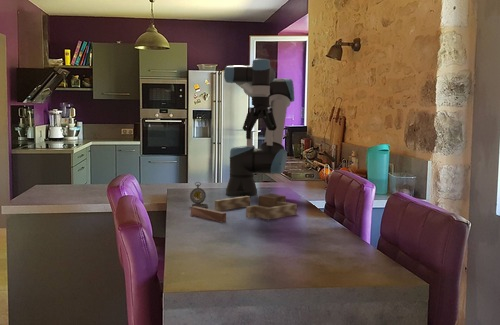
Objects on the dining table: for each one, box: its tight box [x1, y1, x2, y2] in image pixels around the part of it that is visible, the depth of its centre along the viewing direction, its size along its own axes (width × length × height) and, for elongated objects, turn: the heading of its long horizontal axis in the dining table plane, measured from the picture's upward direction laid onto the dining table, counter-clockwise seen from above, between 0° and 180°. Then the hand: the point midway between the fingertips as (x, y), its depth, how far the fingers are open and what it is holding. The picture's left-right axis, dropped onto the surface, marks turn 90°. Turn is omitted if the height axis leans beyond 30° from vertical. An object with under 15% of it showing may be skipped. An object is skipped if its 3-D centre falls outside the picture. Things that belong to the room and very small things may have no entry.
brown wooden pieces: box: [190, 196, 298, 223], centre depth 209 cm, size 32×27×4 cm
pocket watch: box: [189, 181, 209, 209], centre depth 223 cm, size 8×8×10 cm
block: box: [257, 193, 286, 208], centre depth 226 cm, size 8×8×5 cm
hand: (259, 146), depth 231 cm, fingers open, 13 cm apart
